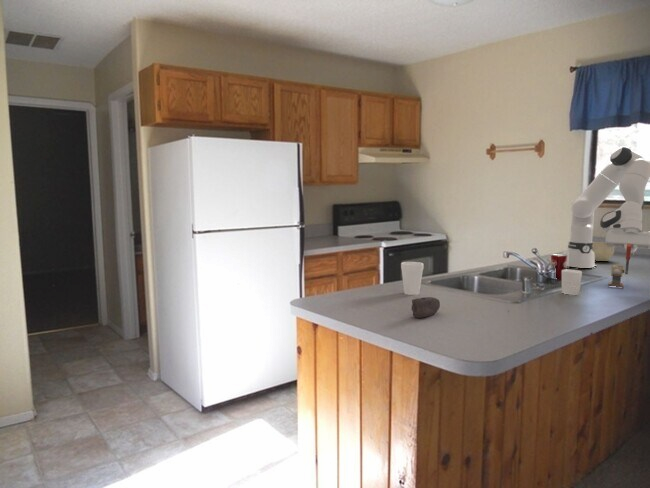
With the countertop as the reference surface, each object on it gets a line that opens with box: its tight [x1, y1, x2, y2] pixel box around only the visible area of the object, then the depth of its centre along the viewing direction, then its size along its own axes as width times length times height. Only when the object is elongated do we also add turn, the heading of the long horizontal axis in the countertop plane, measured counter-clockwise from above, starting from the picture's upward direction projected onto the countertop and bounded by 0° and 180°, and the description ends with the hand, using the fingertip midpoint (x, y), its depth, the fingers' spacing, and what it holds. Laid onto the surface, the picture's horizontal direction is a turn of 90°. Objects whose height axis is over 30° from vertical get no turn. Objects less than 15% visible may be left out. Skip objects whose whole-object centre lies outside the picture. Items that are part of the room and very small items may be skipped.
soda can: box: [550, 253, 568, 281], centre depth 246 cm, size 7×7×12 cm
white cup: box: [561, 268, 583, 295], centre depth 212 cm, size 8×8×10 cm
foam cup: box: [400, 261, 425, 296], centre depth 213 cm, size 10×9×13 cm
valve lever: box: [624, 244, 632, 275], centre depth 223 cm, size 2×2×16 cm
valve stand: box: [608, 264, 625, 288], centre depth 229 cm, size 10×6×9 cm, turn 150°
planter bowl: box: [592, 241, 616, 262], centre depth 301 cm, size 16×16×11 cm
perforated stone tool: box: [410, 296, 441, 319], centre depth 177 cm, size 15×5×7 cm, turn 129°
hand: (630, 254), depth 223 cm, fingers closed, pressing on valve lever
